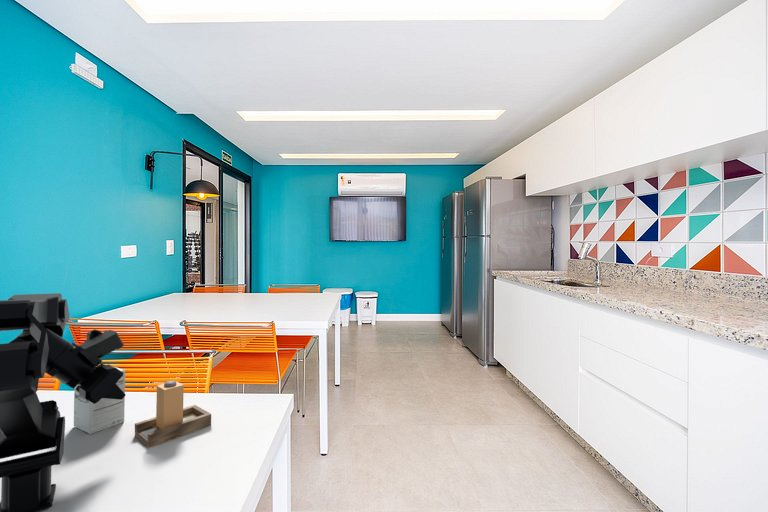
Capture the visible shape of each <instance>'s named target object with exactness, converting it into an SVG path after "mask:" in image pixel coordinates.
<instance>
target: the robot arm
mask: <svg viewBox="0 0 768 512" xmlns="http://www.w3.org/2000/svg"><path fill="white" fill-rule="evenodd" d="M69 321H70V311H69V305H68V300H67V298H64V299H63V295H62V294H61V293H58V292H57V293H55V292H53V293H31V294H30V293H27V294H14V295H12V296H11V297H9V298H8V299H5V300H3V299H1V300H0V332H7V331H8V332H9V331H21V332H20V333H19V334H18V335H17V337H15V338H14V339H12V340H11V341H9V342H8V343H0V460H2V459H7V458H12V457H16V456H21V455H25V454H30V453H34V452H39V451H43V450H48V449H53V448H55V449H54V450H49V451H44V452H39V453H35V454H30V455H26V456H22V457H16V458H13V459H9V460H8V459H7V460H4V461H0V479H1V483H0V484H1V485H0V486H1V488H0V491H1V492H0V493H1V494H0V495H1V496H0V499H1V500H0V512H39V511H42V510H46V509H49V508H51V507H52V506H53V503H54V498H55V495H56V494H55V493H56V488H57V484H56V483H52V466H59V465H61V462H62V458H63V455H64V449H65V435H66V433H65V431H66V416H61V412H60V410H59V406H58V403H57V401H55V400H54V399H50V400H46V401H41V402H40V399H39V397H38V394H37V392H38V388H39V380H40V379H43V378H44V377H45V374H47V375H48V376H50V377H52V378H55V379H57V380H58V381H59V382H61V383H62V384H64V385H66V386H68V387H69V388H71V389H74V388H75V387H76V386H77V385H78V386H77V388H76V391H78V392H79V395H81V396H82V397H83V398H85V399H87V400H88V401H90V402H92V403H94V404H95V403H97V402H99V401H100V399H101V398H107V399H119V400H122V399H123V398H124V397H125V398H126V392H125V393H124V392H123V391H122V390H121V389H120V388H119V387H118V385H117V384H116V382H117V381H118V380H119V379H120V378H121V377H122V376H123V372H121V371H120V370H118V369H117V368H118V367H117V368H115V367H116V366H114V365H111V364H104V363H102V362H103V359H101V358H103V357H105V356H107V355H109V354H110V353H113V352H114V351H116V350H120V349H122V347H124V346H125V344H124V342H123V340H122V339H121V337H120V336H119V334H118V332H117V331H116V330H115V331H114V330H112V329H109V330H104V331H103V332H102V331H100V330H98V329H92V330H90V331H88V332H86V340H84V342H83V343H82V344H80V345H77V344H76V343H74V342H70V341H68V340H66V338H63V336H64V333H65V329H66V326H67V323H68V322H69Z"/></svg>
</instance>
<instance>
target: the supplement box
mask: <svg viewBox="0 0 768 512" xmlns="http://www.w3.org/2000/svg"><path fill="white" fill-rule="evenodd" d="M114 367H115V368H117V369H118V370H120V371H121V372H123V376H122V377H121V378H120V379H119V380H118V381H117V382H116V384H117V385H118V387H119V388H120V389H121V390H122V391H123V392H124V393H125V394H126V369H122V368H119V367H116V366H114ZM77 386H78V385H77ZM77 386H76V387H75V388H74V391H73V392H74V394H73V396H74V397H73V427H75V428H77V429H79V430H82V431H83V432H84V433H85V432H86V433H87V434H88V435H92V434H94V433H97V432H101V431H103V430H106V429H108V428H111V427H114V426H118V425H119V424H121V423H122V424H123V423H124V422H125V401H126V400H125V398H126V396H125V397H124V398H123V399H122V400H119V399H107V398H101V399H100V401H99V402H97V403H95V404H94V403H92V402H90V401H88V400H87V399H85V398H83V397H82V396H81V395H79V392H78V391H76V388H77Z"/></svg>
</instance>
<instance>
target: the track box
mask: <svg viewBox="0 0 768 512" xmlns="http://www.w3.org/2000/svg"><path fill="white" fill-rule="evenodd" d="M211 426H212V413H210V412H208V411H207V410H205V409H203V408H202V407H199V406H198V405H196V404H193V405H189V406H186V407H183V422H181V423H178V424H175V425H172V426H169V427H166V428H163V429H160V428H159V427H157V426H156V416H154V417H152V418H149V419H146V420H145V419H144V420H142V421H139V422H136V423H134V437H136V439H138V441H140V442H141V443H143V444H144V446H146V447H147V448H149V449H151V448H155V447H156V446H159V445H162V444H164V443H167V442H169V441H173V440H176V439H178V438H180V437H183V436H187V435H189V434H192V433H195V432H197V431H199V430H202V429H205V428H208V427H211Z"/></svg>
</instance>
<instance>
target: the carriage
mask: <svg viewBox="0 0 768 512" xmlns="http://www.w3.org/2000/svg"><path fill="white" fill-rule="evenodd" d="M184 387H185V386H184V384H183V383H181V382H179V381H177V380H168V381H165V382H164V383H162V384H161V383H160V384H157V385H156V403H155V404H156V410H155V412H156V413H155V414H156V415H155V417H156V426H157V427H159V428H160V429H163V428H166V427H169V426H172V425H175V424H178V423H181V422H183V408H184Z"/></svg>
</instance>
